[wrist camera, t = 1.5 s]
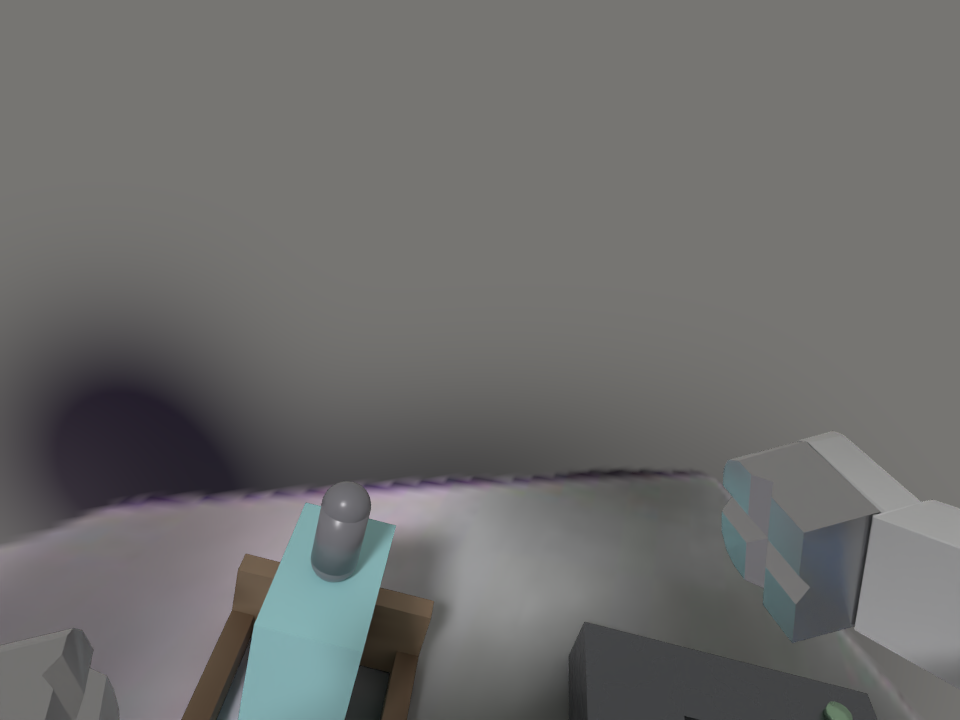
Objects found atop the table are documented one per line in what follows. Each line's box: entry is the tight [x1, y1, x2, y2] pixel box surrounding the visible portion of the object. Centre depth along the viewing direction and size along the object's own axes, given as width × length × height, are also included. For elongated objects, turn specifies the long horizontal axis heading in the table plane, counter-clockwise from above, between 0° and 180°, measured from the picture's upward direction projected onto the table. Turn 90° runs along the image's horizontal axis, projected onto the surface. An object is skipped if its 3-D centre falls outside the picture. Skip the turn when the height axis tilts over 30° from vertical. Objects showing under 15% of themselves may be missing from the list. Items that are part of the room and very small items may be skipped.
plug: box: [238, 481, 396, 720], centre depth 30 cm, size 4×6×14 cm, turn 175°
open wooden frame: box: [181, 554, 434, 720], centre depth 32 cm, size 8×11×4 cm
